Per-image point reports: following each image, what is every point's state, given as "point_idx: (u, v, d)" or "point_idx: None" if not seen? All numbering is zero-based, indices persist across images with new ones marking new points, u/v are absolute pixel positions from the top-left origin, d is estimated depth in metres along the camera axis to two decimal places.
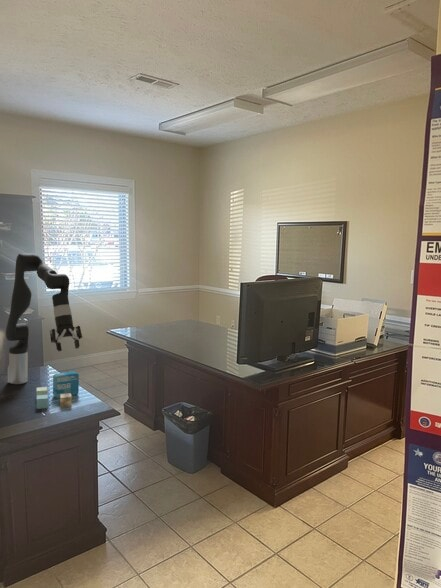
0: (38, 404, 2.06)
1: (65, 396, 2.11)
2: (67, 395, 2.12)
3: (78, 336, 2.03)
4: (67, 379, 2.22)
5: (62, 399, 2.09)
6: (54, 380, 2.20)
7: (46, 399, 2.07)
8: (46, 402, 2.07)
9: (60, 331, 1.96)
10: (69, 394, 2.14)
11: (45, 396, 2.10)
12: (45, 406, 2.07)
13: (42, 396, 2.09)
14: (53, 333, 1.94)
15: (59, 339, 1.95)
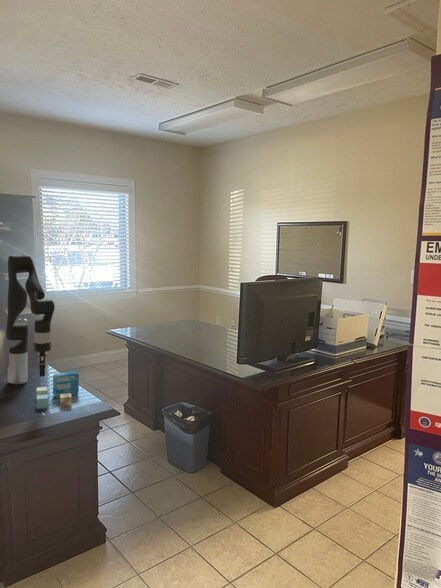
0: (38, 404, 2.06)
1: (65, 396, 2.11)
2: (67, 395, 2.12)
3: None
4: (67, 379, 2.22)
5: (62, 399, 2.09)
6: (54, 380, 2.20)
7: (46, 399, 2.07)
8: (46, 402, 2.07)
9: (44, 357, 2.03)
10: (69, 394, 2.14)
11: (45, 396, 2.10)
12: (45, 406, 2.07)
13: (42, 396, 2.09)
14: (44, 360, 2.00)
15: None
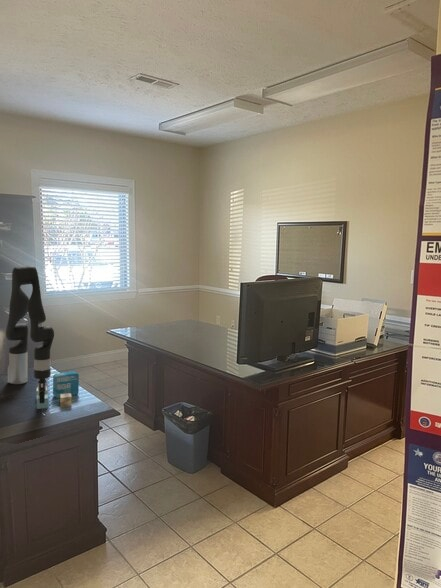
0: (38, 404, 2.06)
1: (65, 396, 2.11)
2: (67, 395, 2.12)
3: None
4: (67, 379, 2.22)
5: (62, 399, 2.09)
6: (54, 380, 2.20)
7: (46, 399, 2.07)
8: (46, 402, 2.07)
9: (44, 384, 2.05)
10: (69, 394, 2.14)
11: (45, 396, 2.10)
12: (45, 406, 2.07)
13: None
14: (44, 387, 2.02)
15: None
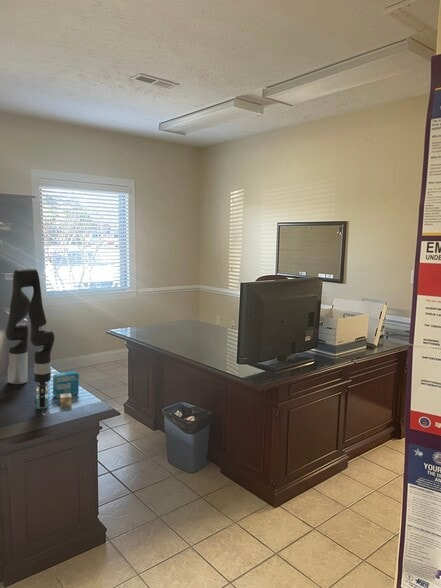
0: (38, 404, 2.06)
1: (65, 396, 2.11)
2: (67, 395, 2.12)
3: None
4: (67, 379, 2.22)
5: (62, 399, 2.09)
6: (54, 380, 2.20)
7: (46, 399, 2.07)
8: (46, 401, 2.07)
9: (44, 388, 2.06)
10: (69, 394, 2.14)
11: (45, 395, 2.10)
12: (45, 406, 2.07)
13: (42, 396, 2.09)
14: (44, 392, 2.03)
15: None
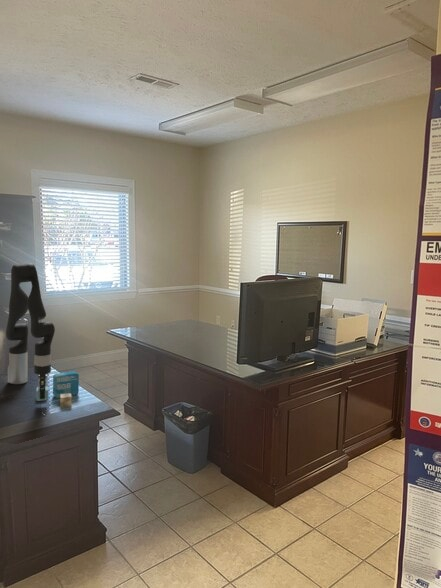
0: (38, 396, 2.06)
1: (65, 396, 2.11)
2: (67, 395, 2.12)
3: None
4: (67, 379, 2.22)
5: (62, 399, 2.09)
6: (54, 380, 2.20)
7: (46, 391, 2.07)
8: (46, 393, 2.07)
9: (44, 380, 2.05)
10: (69, 394, 2.14)
11: (46, 388, 2.10)
12: (45, 398, 2.07)
13: (42, 388, 2.09)
14: (45, 384, 2.03)
15: None
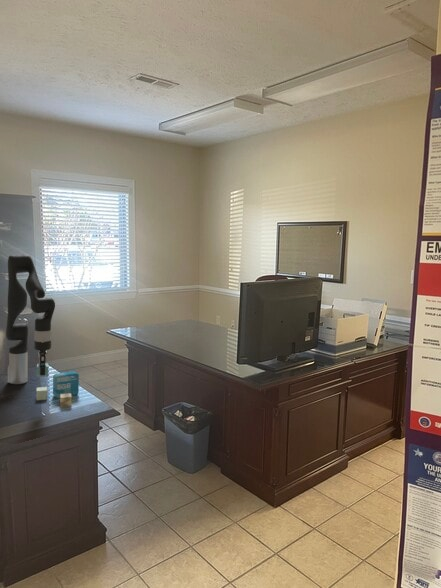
0: (38, 372, 2.04)
1: (65, 396, 2.11)
2: (67, 395, 2.12)
3: None
4: (67, 379, 2.22)
5: (62, 399, 2.09)
6: (54, 380, 2.20)
7: (46, 367, 2.05)
8: (47, 370, 2.05)
9: (45, 356, 2.04)
10: (69, 394, 2.14)
11: (46, 364, 2.08)
12: (45, 374, 2.05)
13: (42, 364, 2.07)
14: (45, 360, 2.01)
15: None
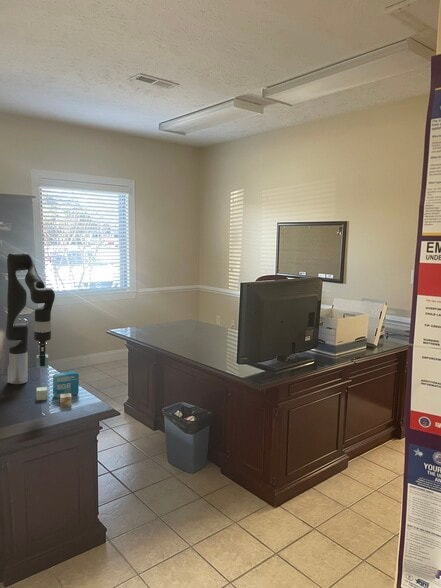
0: (38, 363, 2.03)
1: (65, 396, 2.11)
2: (67, 395, 2.12)
3: None
4: (67, 379, 2.22)
5: (62, 399, 2.09)
6: (54, 380, 2.20)
7: (46, 358, 2.04)
8: (46, 361, 2.05)
9: (44, 347, 2.03)
10: (69, 394, 2.14)
11: (46, 355, 2.07)
12: (45, 365, 2.05)
13: (42, 355, 2.06)
14: (45, 351, 2.00)
15: None
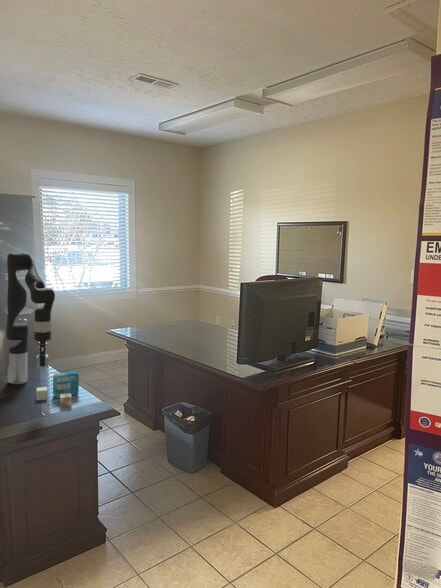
0: (38, 363, 2.03)
1: (65, 396, 2.11)
2: (67, 395, 2.12)
3: None
4: (67, 379, 2.22)
5: (62, 399, 2.09)
6: (54, 380, 2.20)
7: (46, 358, 2.04)
8: (46, 361, 2.05)
9: (44, 347, 2.03)
10: (69, 394, 2.14)
11: (46, 355, 2.07)
12: (45, 365, 2.05)
13: (42, 355, 2.06)
14: (45, 351, 2.00)
15: None
